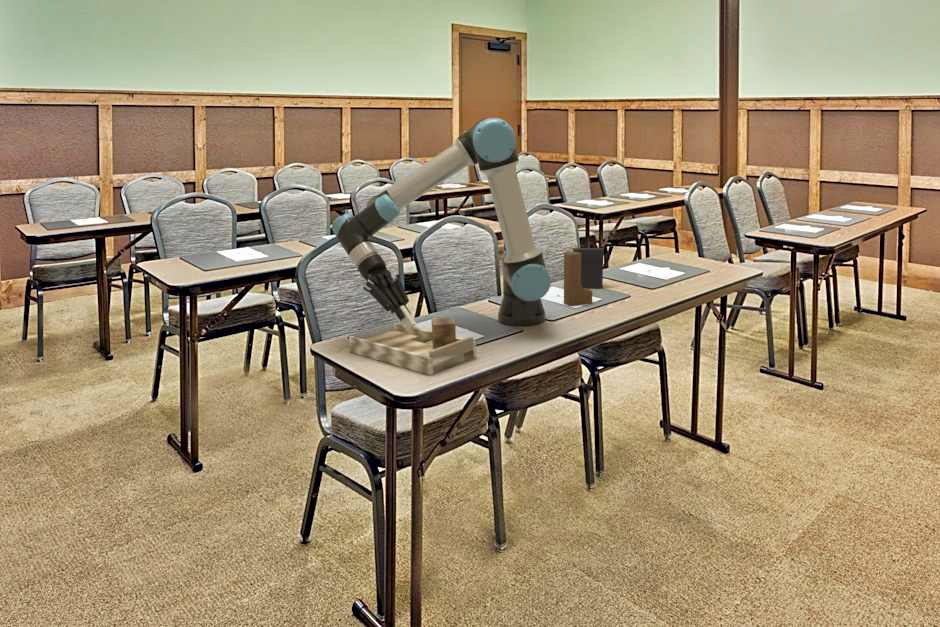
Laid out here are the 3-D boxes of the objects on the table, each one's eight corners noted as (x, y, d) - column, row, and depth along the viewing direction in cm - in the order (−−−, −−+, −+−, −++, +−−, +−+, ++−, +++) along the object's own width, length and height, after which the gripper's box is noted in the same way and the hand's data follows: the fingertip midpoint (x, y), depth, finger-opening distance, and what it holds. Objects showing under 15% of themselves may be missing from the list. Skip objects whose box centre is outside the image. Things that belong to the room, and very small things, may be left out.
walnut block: (434, 353, 207) (433, 324, 205) (432, 346, 213) (431, 319, 211) (456, 351, 208) (455, 323, 206) (454, 345, 214) (453, 317, 212)
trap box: (349, 351, 218) (348, 331, 217) (396, 336, 232) (395, 317, 230) (430, 375, 198) (429, 353, 196) (476, 357, 211) (476, 336, 209)
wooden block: (586, 300, 269) (587, 249, 264) (592, 303, 264) (593, 252, 260) (563, 303, 266) (563, 252, 261) (569, 306, 262) (569, 254, 257)
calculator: (601, 286, 288) (602, 247, 284) (602, 289, 284) (603, 249, 280) (572, 286, 289) (572, 247, 285) (573, 289, 285) (573, 249, 281)
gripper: (379, 265, 225) (422, 329, 219) (345, 273, 216) (389, 340, 210) (390, 249, 221) (434, 314, 215) (356, 257, 211) (401, 324, 205)
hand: (412, 326), depth 212 cm, fingers closed
